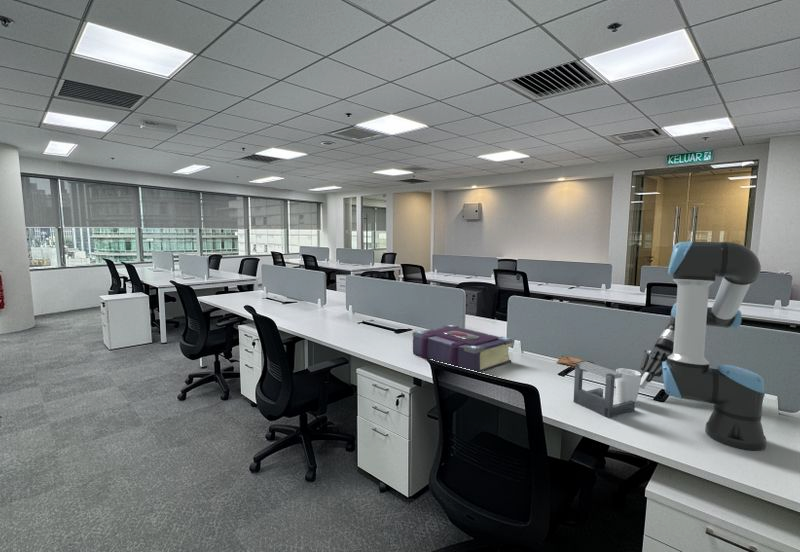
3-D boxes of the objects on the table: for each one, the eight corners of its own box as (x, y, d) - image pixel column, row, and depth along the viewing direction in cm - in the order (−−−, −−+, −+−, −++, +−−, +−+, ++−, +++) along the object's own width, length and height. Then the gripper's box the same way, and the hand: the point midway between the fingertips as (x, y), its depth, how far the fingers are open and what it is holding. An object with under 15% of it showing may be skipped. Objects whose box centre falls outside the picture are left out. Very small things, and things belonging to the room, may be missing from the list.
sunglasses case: (553, 362, 204) (557, 351, 205) (559, 367, 208) (563, 355, 209) (587, 372, 190) (591, 359, 191) (593, 376, 194) (597, 364, 195)
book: (472, 376, 183) (473, 347, 182) (409, 354, 218) (409, 330, 216) (512, 362, 205) (513, 336, 204) (449, 344, 239) (449, 322, 238)
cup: (613, 402, 154) (615, 373, 153) (613, 394, 162) (615, 366, 161) (640, 407, 150) (642, 377, 149) (638, 398, 158) (640, 370, 157)
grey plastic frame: (599, 395, 161) (601, 358, 159) (635, 410, 147) (637, 370, 145) (573, 401, 155) (575, 363, 153) (608, 418, 141) (611, 375, 139)
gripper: (688, 352, 161) (660, 397, 155) (656, 344, 172) (629, 386, 167) (681, 341, 158) (652, 386, 153) (649, 333, 170) (622, 376, 164)
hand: (640, 386), depth 160 cm, fingers closed
